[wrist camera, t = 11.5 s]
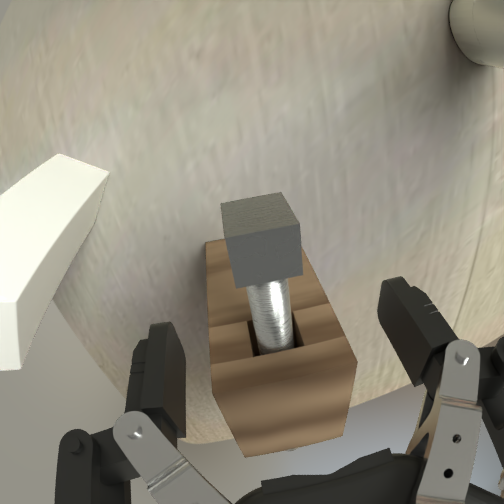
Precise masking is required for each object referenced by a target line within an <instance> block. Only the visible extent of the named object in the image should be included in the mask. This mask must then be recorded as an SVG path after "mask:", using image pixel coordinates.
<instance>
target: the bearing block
mask: <svg viewBox="0 0 504 504" xmlns="http://www.w3.org/2000/svg"><path fill="white" fill-rule="evenodd" d="M301 249H302V263H303V275H301V276H296V277H292V278H288V285H289V295H290V306H291V317H292V329H293V341H294V349H290V350H285V351H281V352H276V353H271V354H266V355H261V356H260V353H259V348H258V343H257V338H256V333H255V329H254V324H253V319H252V314H251V309H250V304H249V299H248V294H247V290H246V287H242V288H237V289H236V286H235V282H234V277H233V273H232V269H231V264H230V260H229V255H228V251H227V246H226V242H225V239H220V240H215V241H210V242H206V279H207V307H208V329H209V348H210V365H211V381H212V394H213V396H214V398H215V400H216V402H217V404H218V406H219V408H220V410H221V412H222V414H223V417H224V419H225V421H226V423H227V424H228V426H229V428H230V430H231V432H232V434H233V436H234V438H235V440H236V442H237V444H238V446H239V448H240V450H241V451H242V453H243V455H244V457H245V458H246V457H252V456H258V455H263V454H269V453H274V452H280V451H284V450H289V449H294V448H298V447H302V446H307V445H311V444H315V443H319V442H323V441H326V440H330V439H334V438H337V437H341V436H342V435H343V431H344V427H345V423H346V418H347V413H348V409H349V404H350V400H351V395H352V390H353V384H354V379H355V374H356V368H357V359H356V357H355V355H354V353H353V351H352V349H351V346H350V344H349V342H348V340H347V338H346V336H345V334H344V331H343V329H342V327H341V325H340V323H339V321H338V319H337V317H336V315H335V313H334V311H333V308H332V306H331V304H330V302H329V300H328V298H327V296H326V294H325V292H324V290H323V288H322V286H321V284H320V282H319V280H318V278H317V276H316V274H315V272H314V270H313V268H312V266H311V264H310V262H309V260H308V258H307V256H306V254H305V252H304V250H303V248H302V246H301Z"/></svg>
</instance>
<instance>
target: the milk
mask: <svg viewBox="0 0 504 504" xmlns="http://www.w3.org/2000/svg"><path fill="white" fill-rule="evenodd" d="M108 176H109V172H108V171H106V170H103V169H100V168H97V167H95V166H92V165H89V164H87V163H84V162H81V161H79V160H76V159H73V158H70V157H68V156H65V155H62V154H59V153H58V154H56V155H55V156H53V157H52V158H50V159H49V160H48V161H46V162H45V163H43V164H42V165H40V166H39V167H37V168H36V169H35V170H33V171H32V172H31V173H29V174H28V175H26V176H25V177H24V178H22V179H21V180H20V181H18V182H17V183H16V184H15V185H13V186H12V187H11V188H9V189H8V190H7V191H6V192H4V193H3V194H2V195H1V196H0V371H4V370H18V369H21V368H22V366H23V363H24V360H25V358H26V355H27V353H28V351H29V348H30V346H31V343H32V341H33V339H34V337H35V334H36V332H37V330H38V328H39V325H40V323H41V321H42V319H43V317H44V315H45V313H46V311H47V308H48V306H49V304H50V302H51V300H52V298H53V296H54V294H55V292H56V290H57V289H58V287H59V285H60V283H61V281H62V279H63V277H64V275H65V273H66V272H67V270H68V268H69V266H70V264H71V262H72V261H73V259H74V257H75V255H76V254H77V252H78V250H79V248H80V247H81V245H82V243H83V242H84V240H85V238H86V237H87V235H88V233H89V232H90V230H91V228H92V227H93V225H94V223H95V220H96V216H97V213H98V209H99V206H100V202H101V199H102V195H103V192H104V189H105V186H106V182H107V179H108Z"/></svg>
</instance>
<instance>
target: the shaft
mask: <svg viewBox="0 0 504 504" xmlns="http://www.w3.org/2000/svg"><path fill="white" fill-rule="evenodd" d="M221 212H222V220H223V228H224V236H225V242H226V246H227V251H228V255H229V260H230V264H231V269H232V273H233V277H234V282H235V286H236V289H237V288H242V287H246V290H247V294H248V299H249V304H250V309H251V314H252V319H253V324H254V329H255V333H256V338H257V343H258V348H259V353H260V356H261V355H266V354H271V353H276V352H281V351H285V350H290V349H294V341H293V329H292V317H291V306H290V295H289V285H288V278H292V277H296V276H301V275H303V263H302V249H301V235H300V223H299V222H298V220H297V218H296V217H295V215H294V213H293V211H292V210H291V208H290V206H289V205H288V203H287V201H286V200H285V198H284V196H283V195H282V193H281V192H280V193H274V194H268V195H263V196H257V197H252V198H247V199H241V200H236V201H231V202H226V203H221ZM295 449H297V448H294V449H289V450H285V451H293V450H295Z"/></svg>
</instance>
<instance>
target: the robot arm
mask: <svg viewBox="0 0 504 504" xmlns="http://www.w3.org/2000/svg"><path fill="white" fill-rule="evenodd" d="M449 18H450V26H451V30H452V33H453V36H454V38H455V41H456V43H457V44H458V46H459V48H460V49H461V51H462V52H463V53H464V55H465V56H466V57H468V58H469V59H470V60H471V61H473V62H474V63H477V64H481V65H487V66H491V67H498V68H503V69H504V0H453V2H452V4H451V7H450V15H449ZM377 312H378V319H379V322H380V324H381V326H382V328H383V329H384V331H385V333H386V335H387V337H388V338H389V340H390V342H391V344H392V346H393V348H394V349H395V351H396V353H397V355H398V357H399V359H400V361H401V362H402V364H403V366H404V368H405V370H406V372H407V374H408V376H409V378H410V380H411V382H412V384H413V385H414V387H416V386H418V385H421V384H423V383H424V385H425V386H426V390H425V393H424V397H423V401H422V405H421V410H420V413H419V417H418V421H417V425H416V429H415V432H414V434H413V437H412V439H411V441H410V443H409V445H408V448H407V450H406V453H405V454H402V453H401V454H400V453H398V454H391V451H390V448H387V449H384V450H381V451H379V452H376V453H373V454H370V455H367V456H364V457H361V458H359V459H357V460H355V461H353V462H352V463H350V464H348V465H347V466H345V467H343V468H341V469H339V470H337V471H336V472H334V473H332V474H328V475H291V476H286V477H281V478H276V479H270V480H263V481H261V485H262V487H260V488H257V489H255V490H253V491H251V492H249V493H248V494H246V495H245V496H243V497H242V498H241V499H239V500H238V501H237V502H236V503H235V504H504V337H502V338H500V339H499V341H498V343H497V344H496V346H495V347H484V348H477V347H476V346H475V345H474V344H473V343H471V342H469V341H467V340H462V339H461V340H459V339H458V337H457V336H456V334H455V333H454V332H453V330H452V329H451V327H450V326H449V324H448V323H447V322H446V320H445V319H444V317H443V316H442V315H441V313H440V312H438V309H437V308H436V307H435V305H434V304H432V301H431V300H430V299H429V297H428V296H427V295H426V293H424V292H423V291H421V290H420V289H418V288H417V287H415V286H413V287H410V286H409V284H408V283H407V282H406V280H405V279H404V278H403V277H401V276H400V277H396V278H391V279H387V280H384V281H383V282H382V285H381V291H380V297H379V303H378V310H377ZM130 374H131V375H130V377H129V384H128V392H127V399H126V408H125V412H124V414H123V415H121V416H120V417H119V418H118V419H117V421H116V422H115V424H114V426H113V427H112V428H109V429H107V430H104V431H101V432H98V433H95V434H91V435H89V434H88V433H87V432H86V431H84V430H81V429H74V430H71V431H69V432H67V433H66V434H65V435H64V436H63V438H62V439H61V441H60V445H59V453H58V463H57V474H56V487H55V504H131V486H130V480H131V479H135V478H138V477H142V478H143V480H144V481H145V482H146V484H147V485H148V491H149V492H150V494H151V495H152V497H153V498H154V499H155V500H156V502H157V503H158V504H232V503H231V502H230V501H229V500H228V499H227V498H226V497H224V496H223V495H222V494H221V493H220V492H219V491H218V490H217V489H216V488H215V487H214V486H213V485H212V484H211V483H209V482H208V481H207V480H206V479H205V478H204V477H203V476H202V475H201V474H200V473H199V472H198V471H197V470H196V469H195V468H194V466H193V465H192V464H190V462H189V461H188V460H187V459H186V458H185V457H184V456H183V455H182V454H181V453H180V452H179V450H178V449H177V438H186V360H185V354H184V350H183V347H182V345H181V343H180V340H179V338H178V336H177V334H176V331H175V329H174V327H173V324H172V323H171V322H164V323H158V324H151V326H150V329H149V336H148V339H144V340H140V341H139V343H138V345H137V346H136V348H135V349H134V351H133V357H132V365H131V370H130ZM481 418H482V419H483V422H484V424H485V426H486V428H487V430H488V433H489V435H490V437H491V440H492V442H493V444H494V447H495V449H496V452H497V454H498V457H499V459H500V462H501V464H502V467H503V471H502V473H501V478H500V481H499V483H498V487H499V489H500V490H501V496H498V495H495V494H493V493H491V492H488V491H486V490H484V489H482V488H480V487H478V486H476V485H473V484H471V483H469V482H470V478H471V474H472V469H473V465H474V460H475V455H476V450H477V444H478V438H479V432H480V425H481Z"/></svg>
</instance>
